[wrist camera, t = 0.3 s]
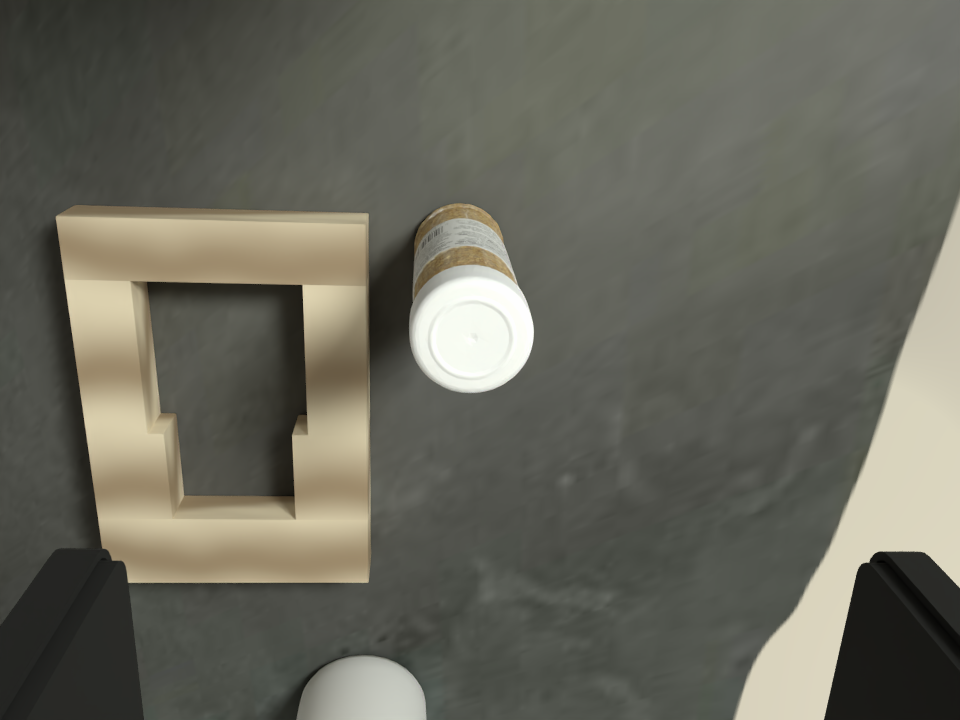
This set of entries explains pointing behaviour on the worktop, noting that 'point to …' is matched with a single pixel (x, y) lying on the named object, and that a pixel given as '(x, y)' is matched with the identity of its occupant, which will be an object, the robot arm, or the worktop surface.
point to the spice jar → (466, 303)
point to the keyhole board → (154, 435)
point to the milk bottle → (362, 691)
